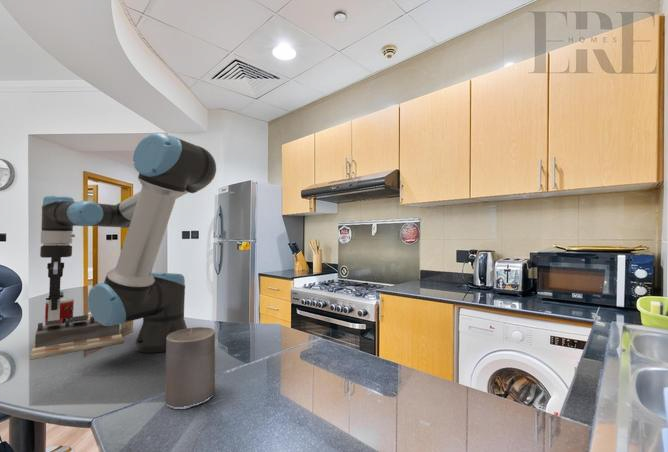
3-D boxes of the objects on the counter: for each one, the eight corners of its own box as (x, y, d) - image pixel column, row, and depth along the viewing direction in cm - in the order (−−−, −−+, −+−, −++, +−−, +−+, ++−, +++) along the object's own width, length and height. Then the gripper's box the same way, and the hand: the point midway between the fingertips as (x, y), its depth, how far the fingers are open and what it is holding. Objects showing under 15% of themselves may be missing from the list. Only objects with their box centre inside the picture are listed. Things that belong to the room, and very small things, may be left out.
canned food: (67, 331, 115) (68, 301, 115) (40, 333, 112) (41, 302, 112) (76, 326, 122) (77, 297, 122) (50, 328, 119) (51, 299, 119)
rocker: (61, 322, 98) (61, 318, 99) (45, 324, 96) (46, 319, 96) (61, 323, 105) (61, 318, 105) (47, 324, 103) (47, 320, 103)
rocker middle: (87, 318, 103) (87, 314, 103) (73, 320, 100) (73, 316, 101) (86, 320, 109) (86, 316, 109) (72, 321, 107) (72, 317, 107)
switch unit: (123, 342, 102) (124, 320, 102) (30, 359, 88) (31, 333, 88) (117, 330, 116) (117, 310, 116) (35, 343, 101) (36, 320, 102)
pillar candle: (184, 385, 72) (185, 320, 73) (223, 388, 71) (223, 322, 71) (153, 408, 63) (154, 333, 63) (197, 412, 61) (198, 335, 62)
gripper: (72, 244, 96) (69, 322, 95) (71, 244, 107) (69, 313, 106) (39, 245, 91) (35, 326, 90) (41, 244, 102) (38, 317, 101)
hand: (53, 319), depth 98 cm, fingers closed, pressing on rocker
